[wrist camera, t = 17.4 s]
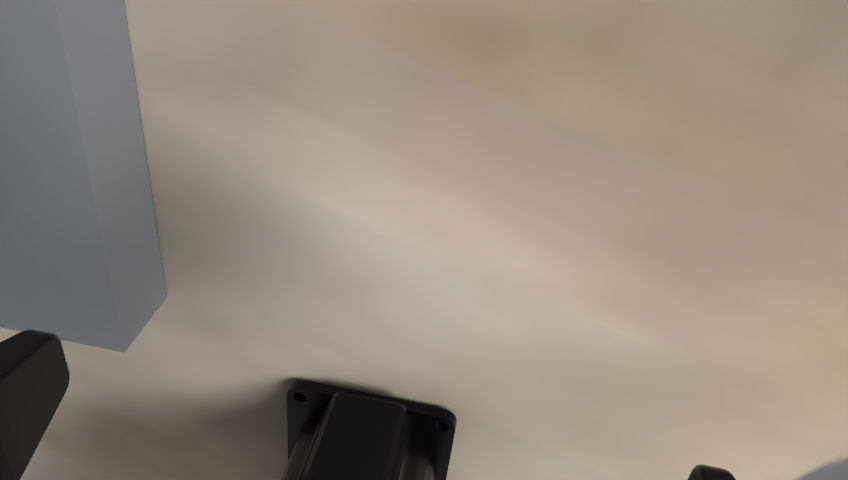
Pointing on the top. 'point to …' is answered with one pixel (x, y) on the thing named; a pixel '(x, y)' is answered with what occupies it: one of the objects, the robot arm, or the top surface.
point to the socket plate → (74, 176)
